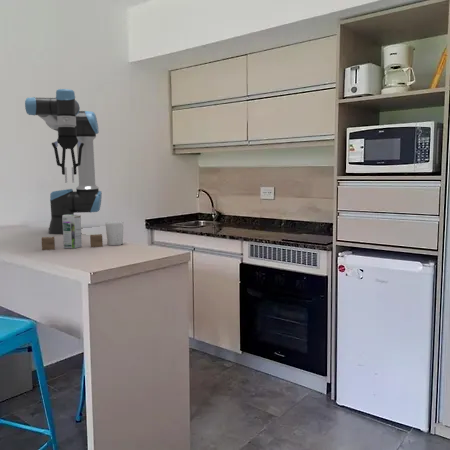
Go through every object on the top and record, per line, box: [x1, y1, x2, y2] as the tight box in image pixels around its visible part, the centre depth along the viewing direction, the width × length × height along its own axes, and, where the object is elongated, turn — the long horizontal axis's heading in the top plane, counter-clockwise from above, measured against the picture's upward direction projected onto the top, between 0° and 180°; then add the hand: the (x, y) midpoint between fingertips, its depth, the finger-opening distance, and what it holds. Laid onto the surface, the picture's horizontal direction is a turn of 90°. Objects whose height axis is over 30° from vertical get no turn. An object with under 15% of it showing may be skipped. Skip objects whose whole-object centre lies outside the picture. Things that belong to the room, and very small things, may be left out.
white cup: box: [105, 221, 124, 246], centre depth 205 cm, size 8×8×10 cm
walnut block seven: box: [41, 236, 56, 251], centre depth 195 cm, size 5×5×5 cm
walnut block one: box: [89, 233, 104, 248], centre depth 202 cm, size 5×5×5 cm
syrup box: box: [62, 214, 83, 250], centre depth 198 cm, size 6×6×14 cm
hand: (69, 182), depth 195 cm, fingers open, 2 cm apart
